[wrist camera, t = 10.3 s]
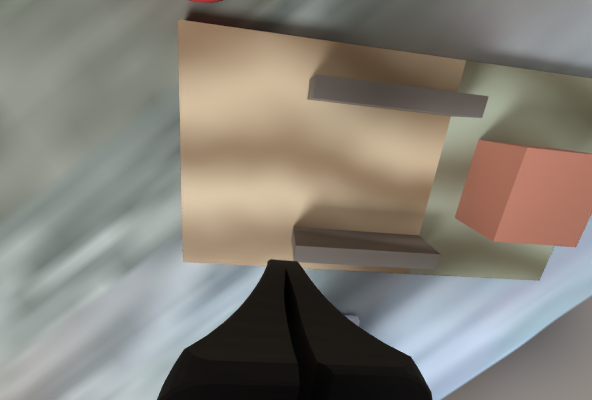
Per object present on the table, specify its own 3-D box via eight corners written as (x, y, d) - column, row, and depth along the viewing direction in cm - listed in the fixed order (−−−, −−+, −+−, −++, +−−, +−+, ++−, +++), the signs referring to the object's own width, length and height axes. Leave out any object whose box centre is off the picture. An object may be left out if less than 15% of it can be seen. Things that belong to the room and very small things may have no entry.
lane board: (529, 273, 25) (574, 303, 21) (186, 255, 22) (168, 286, 18) (609, 84, 20) (687, 78, 16) (183, 24, 17) (157, 0, 13)
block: (524, 223, 22) (575, 247, 18) (454, 217, 21) (493, 241, 18) (553, 148, 20) (618, 157, 16) (478, 139, 20) (527, 147, 16)
